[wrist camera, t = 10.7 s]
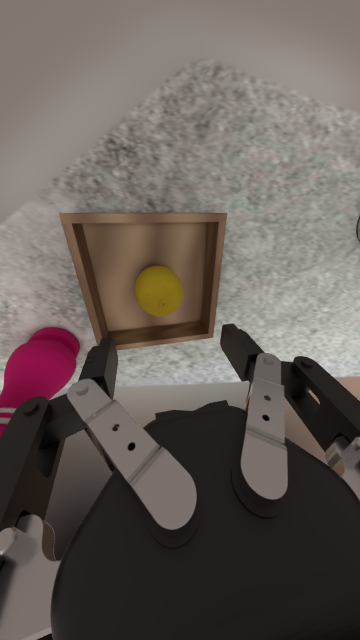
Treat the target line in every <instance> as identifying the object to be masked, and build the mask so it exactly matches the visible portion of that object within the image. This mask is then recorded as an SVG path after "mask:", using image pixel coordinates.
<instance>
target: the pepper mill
mask: <svg viewBox="0 0 360 640" xmlns="http://www.w3.org/2000/svg"><path fill="white" fill-rule="evenodd" d="M79 347H80V346H79V342H78V340H77V339H76V337H75V336H74V335H73V334H71V333H70V332H68V331H66V330H63V329H59V328H45V329H42V330H40V331H38V332H36V333H35V334H34V335H33V336H32V338H31V339H30V340H29V341H28V342H27V343H25V344H23V345H21V346H20V347H18V348H17V349H16V350H15V351H14V352H13V353H12V355H11V356H10V358H9V360H8V362H7V365H6V368H5V373H4V387H3V390H2V393H1V395H0V437H1V435H2V433H3V431H4V429H5V428H6V426H7V424H8V422H9V420H10V419H11V417H12V415H13V413H14V412H15V410H16V409H17V408H18V407H19V406H20V405H21V404H22V403H24V402H25V401H27V400H29V399H31V398H33V397H37V396H44V397H46V398H47V399H48V401H49V399H50V398H51V397H52V396H54V395H55V394H56V393H57V392H58V391H59V390H61V389H62V388H63V387H64V386H65V385H66V384H67V383H68V381H69V380H70V379H71V377H72V375H73V374H74V372H75V369H76V357H77V354H78V352H79Z"/></svg>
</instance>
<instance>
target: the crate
mask: <svg viewBox="0 0 360 640" xmlns="http://www.w3.org/2000/svg"><path fill="white" fill-rule="evenodd" d="M59 215H60V219H61V222H62V226H63V229H64V232H65V236H66V239H67V243H68V246H69V250H70V253H71V256H72V260H73V263H74V267H75V270H76V273H77V277H78V280H79V284H80V287H81V291H82V294H83V297H84V301H85V304H86V308H87V311H88V314H89V318H90V321H91V325H92V328H93V332H94V335H95V338H96V342H97V345H98V346H99V344H100V340H101V338H107V337H113V338H114V342H115V346H116V350H123V349H130V348H138V347H145V346H153V345H161V344H168V343H176V342H183V341H191V340H198V339H206V338H213V333H214V325H215V316H216V307H217V298H218V289H219V280H220V271H221V262H222V253H223V245H224V236H225V227H226V218H227V213H59ZM156 265H159V266H165V267H167V268H169V269H171V270H172V271H174V272H175V273H176V275H177V276H178V277H179V279H180V281H181V283H182V287H183V298H182V301H181V304H180V306H179V307H178V308H177V310H175V311H174V312H173V313H171V314H170V315H167V316H160V317H159V316H153V315H151V314H149V313H147V312H146V311H144V310H143V309H142V307H141V306H140V305H139V303H138V301H137V299H136V296H135V283H136V280H137V278H138V276H139V275H140V273H141V272H142V271H143V270H145V269H146V268H148V267H151V266H156Z"/></svg>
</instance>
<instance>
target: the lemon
mask: <svg viewBox="0 0 360 640" xmlns="http://www.w3.org/2000/svg"><path fill="white" fill-rule="evenodd" d="M135 296H136V299H137V301H138V303H139V305H140V306H141V307H142V309H143V310H144V311H146V312H147V313H149V314H151V315H153V316H159V317H160V316H167V315H170V314H171V313H173V312H174V311H175V310H177V308H178V307H179V306H180V304H181V301H182V298H183V287H182V283H181V281H180V279H179V277H178V276H177V275H176V273H175V272H174V271H172V270H171V269H169V268H167V267H165V266H159V265H156V266H151V267H148V268H146V269H145V270H143V271H142V272H141V273H140V275H139V276H138V278H137V280H136V283H135Z"/></svg>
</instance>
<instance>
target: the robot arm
mask: <svg viewBox="0 0 360 640" xmlns="http://www.w3.org/2000/svg"><path fill="white" fill-rule="evenodd" d="M358 238H359V240H360V219H359V223H358ZM220 345H221V348H222V350H223V352H224V353H225V355H226V356H227V358H228V360H229V361H230V363H231V365H232V366H233V368H234V369H235V371H236V373H237V374H238V376H239V378H240V379H241V381H249V382H250V384H249V388H248V393H247V398H246V404H245V408H244V410H243V409H241V408H237V407H234V406H229V405H228V403H227V401H226V400H224V401H219V402H213V403H209V404H207V405H205V406H203V407H201V408H199V409H197V410H194V411H181V410H171V411H166V412H160V413H156V414H155V415H156V420H154V421H152V422H150V423H149V424H147V425H146V426H145V427H144V428H142V427H141V426H140V425H139V424H138V423H137V421H136V420H135V419H134V418H133V417H132V416H131V415H130V414H129V413H128V412H127V411H126V410H125V409H124V408H123V406H122V405H121V404H120V403H119V402H118V401H117V400H114V401H113V396H114V388H115V381H116V373H117V366H118V355H117V350H116V346H115V342H114V338H113V337H107V338H101V340H100V344H99V346H94V347H93V348H92V349H91V350H90V351H89V352H88V355H87V359H86V361H85V364H84V366H83V369H82V372H81V375H80V377H79V380H78V382H76V383H74V384H73V385H72V386H71V387H70V388H69V390H68V392H67V393H66V394H64V395H62V396H59V397H57V398H54V399H52V400H49V401H48V399H47V398H46V397H44V396H37V397H33V398H31V399H29V400H27V401H25V402H24V403H22V404H21V405H20V406H19V407H18V408H17V409H16V410H15V412H14V413H13V415H12V417H11V419H10V420H9V422H8V424H7V426H6V428H5V429H4V431H3V433H2V435H1V437H0V640H36V639H38V638H41V637H43V636H45V635H47V634H50V633H52V637H53V640H360V401H359V400H357V398H355V397H354V396H353V395H352V394H351V393H350V392H349V391H348V390H347V389H346V388H344V387H343V386H342V385H341V384H340V383H339V382H338V381H337V380H336V379H334V378H333V377H332V376H331V375H330V374H329V373H328V372H327V371H326V370H324V369H323V368H322V367H321V366H320V365H319V364H318V363H317V362H315V361H314V360H312V359H310V358H308V357H304V356H298V357H295V358H294V360H293V362H284V361H280V360H279V359H278V358H277V357H276V356H274V355H272V354H269V353H265V352H264V351H263V350H262V349H261V348H260V347H259V346H258V345H257V344H256V343H255V341H254V340H253V339H252V338H250V336H249V335H248V334H247V333H246V332H245V331H243V330H241V329H238V328H237V327H236V326H235V325H234V324H225V325H223V326H222V332H221V340H220ZM309 390H311V391H312V392H313V393H314V394H315V395H316V396H317V398H318V399H319V401H320V405H319V403H318V402H317V401H316V400H315V399H314V398H313V397H312V396H311V394H310V393H309ZM284 397H285V398H286V399H287V401H288V402H289V403H290V405H291V406H292V408H293V409H294V410H295V412H296V413H297V414H298V416H299V417H300V418H301V420H302V421H303V423H304V424H305V425H306V427H307V428H308V430H309V431H310V432H311V434H312V435H313V436H314V438H315V439H316V440H317V442H318V443H319V445H320V446H321V447H322V449H323V450H324V452H325V458H326V462H327V464H328V465H329V466H328V465H326V464H325V463H323V462H322V461H320V460H319V459H317V458H316V457H314V456H313V455H311V454H310V453H308V452H307V451H305V450H304V449H302V448H301V447H299V446H298V445H296V444H295V443H293V442H292V441H290V440H289V439H287V438H286V437H285V436H284V435H285V433H284ZM83 429H84V431H85V432H86V434H87V436H88V437H89V438H90V440H91V441H92V443H93V445H94V446H95V448H96V449H97V451H98V452H99V454H100V456H101V457H102V459H103V461H104V463H105V464H106V466H107V468H108V469H109V471H110V472H111V473H112V475H111V477H110V478H109V480H108V481H107V483H106V485H105V486H104V488H103V489H102V491H101V492H100V494H99V496H98V497H97V499H96V500H95V502H94V504H93V505H92V507H91V508H90V510H89V512H88V513H87V515H86V516H85V518H84V520H83V521H82V523H81V524H80V526H79V527H78V529H77V531H76V532H75V534H74V535H73V537H72V539H71V540H70V542H69V544H68V546H67V548H66V550H65V552H64V554H63V557H62V559H61V561H57V562H56V560H55V558H54V551H53V550H54V531H53V529H52V527H51V526H50V525H49V524H47V523H46V522H45V521H44V519H45V515H46V511H47V508H48V504H49V500H50V496H51V492H52V488H53V484H54V480H55V477H56V473H57V469H58V465H59V461H60V458H61V453H62V450H63V446H64V442H65V439H66V438H67V437H68V436H71V435H73V434H75V433H77V432H79V431H81V430H83Z"/></svg>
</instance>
